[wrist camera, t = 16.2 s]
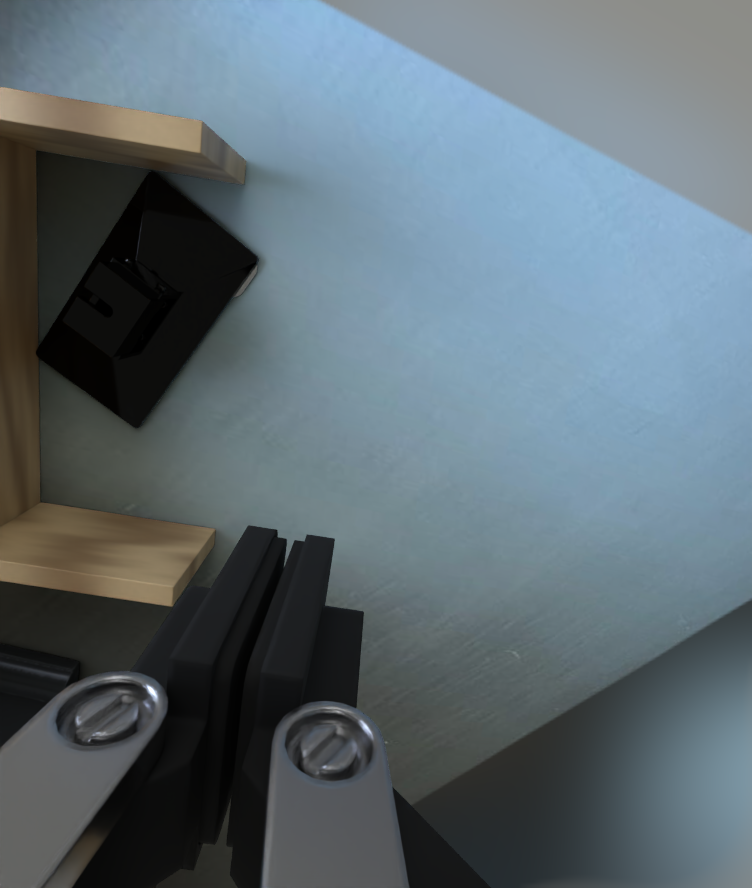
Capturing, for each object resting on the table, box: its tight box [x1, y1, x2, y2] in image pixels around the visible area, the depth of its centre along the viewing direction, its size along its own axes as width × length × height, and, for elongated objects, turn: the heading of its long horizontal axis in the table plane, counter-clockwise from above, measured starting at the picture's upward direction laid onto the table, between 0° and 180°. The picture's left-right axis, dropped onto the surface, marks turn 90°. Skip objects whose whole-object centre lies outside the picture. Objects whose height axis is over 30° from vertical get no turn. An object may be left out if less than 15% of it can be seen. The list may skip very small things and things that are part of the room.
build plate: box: [36, 171, 259, 428], centre depth 29 cm, size 12×7×5 cm, turn 141°
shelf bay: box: [0, 87, 246, 607], centre depth 28 cm, size 12×22×7 cm, turn 171°
